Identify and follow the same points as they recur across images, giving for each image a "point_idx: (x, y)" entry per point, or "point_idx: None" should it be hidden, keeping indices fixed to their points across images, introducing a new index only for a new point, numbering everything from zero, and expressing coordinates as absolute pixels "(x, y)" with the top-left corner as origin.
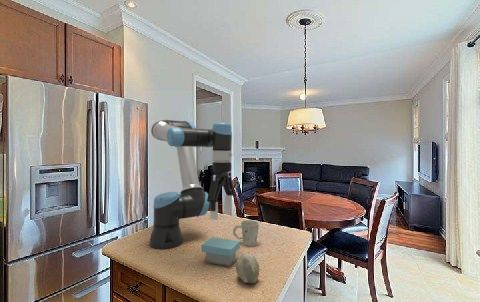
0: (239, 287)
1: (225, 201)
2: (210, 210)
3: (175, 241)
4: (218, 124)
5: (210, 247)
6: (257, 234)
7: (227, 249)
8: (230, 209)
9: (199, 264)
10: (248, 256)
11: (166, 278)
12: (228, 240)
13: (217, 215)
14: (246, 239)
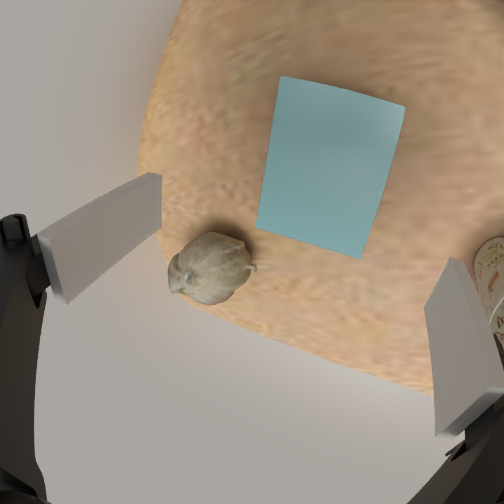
0: (188, 232)
1: (470, 325)
2: (100, 198)
3: None
4: None
5: (273, 125)
6: (497, 312)
7: (258, 210)
8: (427, 315)
9: (287, 75)
10: (185, 292)
11: (175, 20)
12: (364, 204)
13: (139, 240)
14: (484, 262)
